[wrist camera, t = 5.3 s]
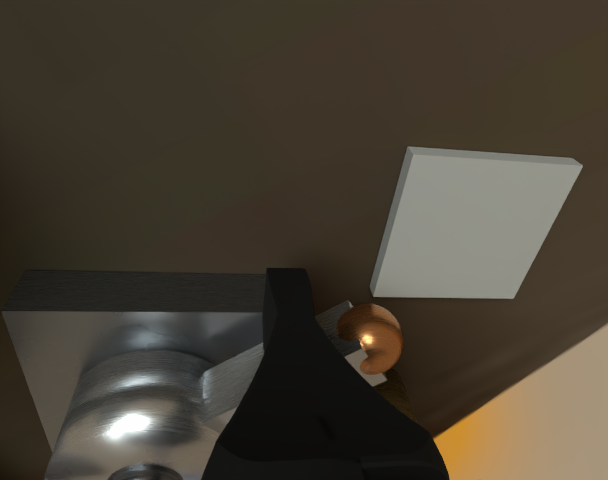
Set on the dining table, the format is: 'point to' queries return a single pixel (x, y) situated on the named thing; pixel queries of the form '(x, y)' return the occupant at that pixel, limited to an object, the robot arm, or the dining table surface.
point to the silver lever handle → (188, 401)
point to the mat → (468, 222)
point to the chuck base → (123, 324)
